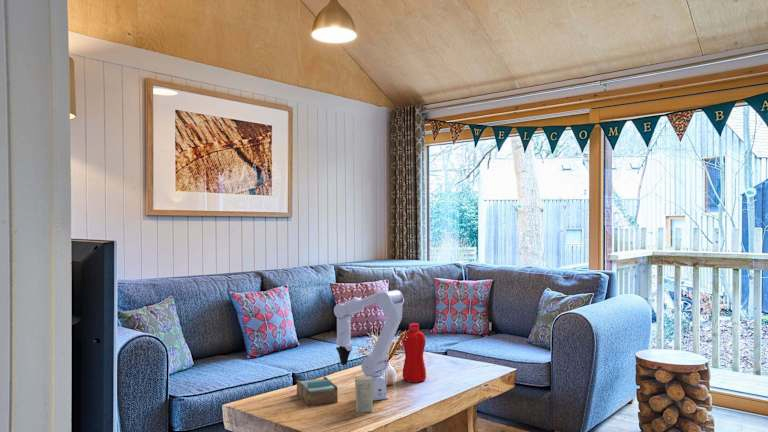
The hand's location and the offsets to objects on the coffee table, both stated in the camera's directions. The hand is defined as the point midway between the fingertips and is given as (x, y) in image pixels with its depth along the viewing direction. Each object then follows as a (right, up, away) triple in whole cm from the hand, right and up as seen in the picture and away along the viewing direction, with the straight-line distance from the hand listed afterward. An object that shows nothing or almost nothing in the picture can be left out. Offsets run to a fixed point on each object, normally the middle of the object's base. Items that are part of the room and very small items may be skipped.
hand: (343, 364), depth 242 cm
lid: (-10, -5, -12) cm, 17 cm away
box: (-10, -10, -12) cm, 19 cm away
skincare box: (+9, -11, -26) cm, 30 cm away
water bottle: (+29, -11, +13) cm, 34 cm away
